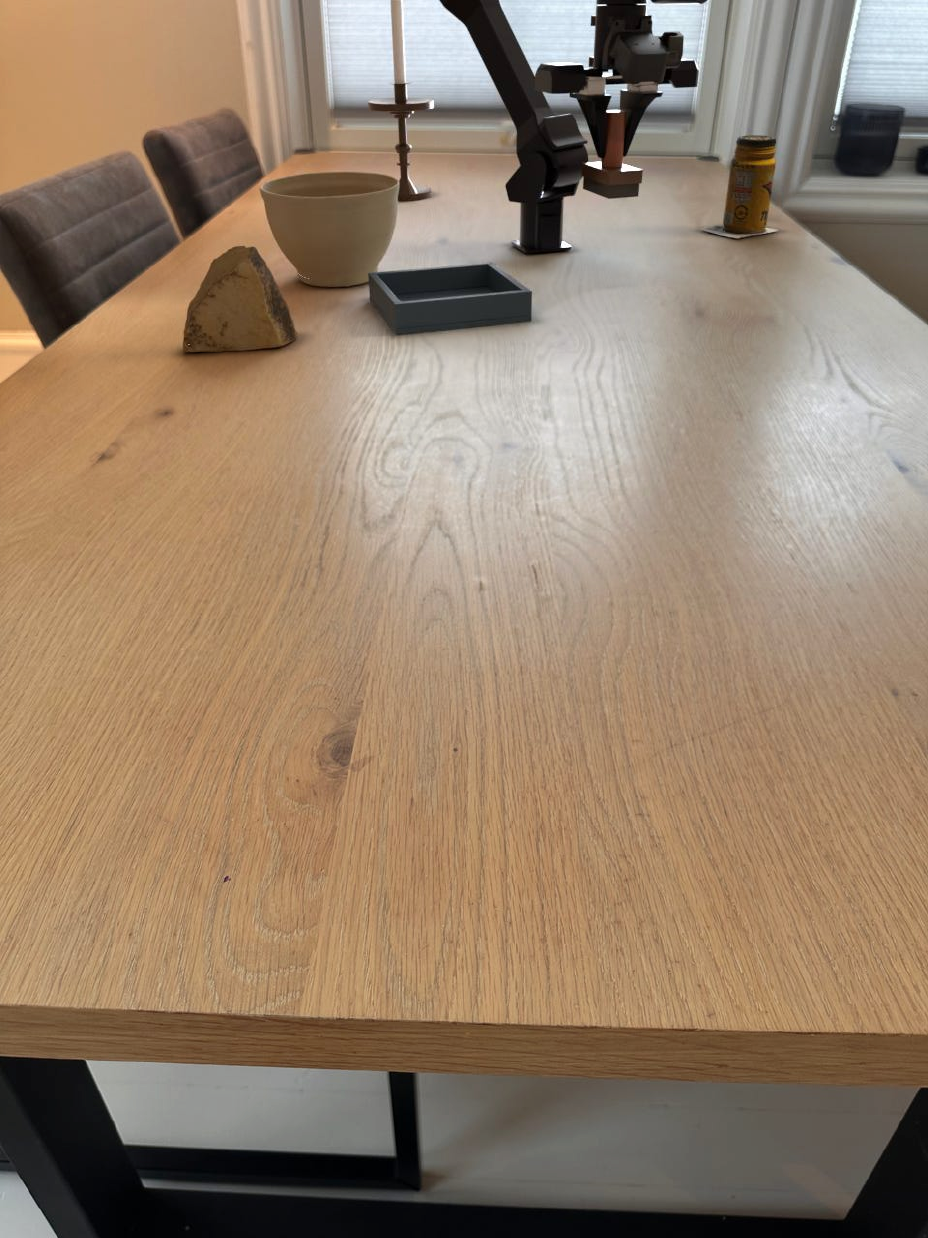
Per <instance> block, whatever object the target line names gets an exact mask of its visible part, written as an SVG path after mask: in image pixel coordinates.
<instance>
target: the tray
mask: <svg viewBox="0 0 928 1238" xmlns="http://www.w3.org/2000/svg"><path fill="white" fill-rule="evenodd" d="M368 278H369V282H368V291H369V301H370V303H371V304H372V305H373V307H374V308H375V309H376V310H377V312H378V313H379V314H380V316H381V317H382V318H383V320H384V321H385V323H387V325H388V326H389V327H390V328H391V330H392V331H393V333H395V335H396V336H399V335H400V336H401V335H410V334H420V333H430V332H440V331H450V330H458V329H468V328H469V329H470V328H478V327H487V326H488V327H489V326H498V325H499V326H500V325H508V324H517V323H528V322H532V312H533V311H532V310H533V309H532V307H533V306H532V305H533V304H532V303H533V302H532V301H533V296H532V295H533V291H532V290H530V288H528V287H527V286H525V285H524V284H522V283H521V282H520V281H518V280H517V279H516V278H515V277H513V276H512V275H510V274H509V273H508V272H506V271H505V270H503V269H502V268H501V267H499V266H498V265H496V264H495V263H494V262H493V261H490V262H489V261H488V262H477V263H468V264H466V263H465V264H455V265H443V266H434V267H421V268H420V267H419V268H409V269H398V270H385V271H377V272H374V273H368Z"/></svg>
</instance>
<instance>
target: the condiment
mask: <svg viewBox="0 0 928 1238" xmlns="http://www.w3.org/2000/svg"><path fill="white" fill-rule="evenodd" d="M735 143H736V144H735V149H734V151H733V152H734V155H733V156H732V159H731V160H730V165H729V173H728V181H727V189H726V198H725V203H724V204H725V205H724V212H723V220H722V222H723V223H722V224H723V225H721V224H720V225H716V224H715V225H713V226H708V227H706V226H705V227H704V226H703V227H701V228H700V227H699V230H703V231H704V232H708V233H712V234H715V235H719V236H720V237H721V236H724V237H728V238H734V239H740V238H747V237H752V236H759V235H766V234H771V233H776V232H779V229H777V228H776V229H775V228H771V227H769V228H768V227H766V226H767V223H768V217H769V211H770V205H771V197H772V193H773V192H772V191H773V185H774V184H773V183H774V179H775V177H774V176H775V172H776V164H777V163H776V159H775V155H776V144H777V138H775V136H771V135H758V134H757V135H756V134H755V135H753V134H752V135H750V134H749V135H741V136H738V137H737V139H736V141H735Z"/></svg>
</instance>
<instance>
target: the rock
mask: <svg viewBox="0 0 928 1238" xmlns="http://www.w3.org/2000/svg"><path fill="white" fill-rule="evenodd" d="M298 335H299V334H298V331H297V329H296V326H295V322H294V320H293V318H292V316H291V313H290V307H289V305H288V302H287V300H286V299H285V298H284V296H283V294H282V293H281V290H280V288H279V285H278V284H277V282H276V280H275V277H274V275H273V274H272V271H271V269H270V268H269V267H268V265H267V262H266V261H265V260H264V258H263V257H262V256H261V254H260V252H259V251H258V248H257V247H256V246H248V247H246V246H245V245H236V246H232V247H231V248H229V249H227V250H226V251H225V252H223V253H222V254H220V255H219V256H217V258H214V259H213V260H212V261H211V263H210V265H209V268H208V270H207V272H206V275H205V276H204V279H203V280H202V282H201V284H200V287H199V288H198V290H197V292H196V294H195V295H194V297H193V298H192V299H191V300H190V302H189V304H188V307H187V311H186V320H185V323H184V329H183V340H182V351H183V352H184V353H198V352H200V353H201V352H202V353H203V352H204V353H205V352H207V353H210V352H211V353H214V352H215V353H218V352H219V353H222V352H229V351H235V352H236V351H237V352H241V351H243V352H244V351H253V350H263V349H273V348H280V347H283V346H286V345H288V344H290V343H291V342H293V341H295V340H296V339H297V337H298ZM188 344H190V345H188Z"/></svg>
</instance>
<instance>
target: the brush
mask: <svg viewBox="0 0 928 1238" xmlns="http://www.w3.org/2000/svg"><path fill="white" fill-rule="evenodd" d="M625 122H626V111H624V110H620V109H607V123H606V149H605V156H604V158H600V159H601V161H591V162H587V163H582V173H581V176H583V177H582V179H583V181H582V189H583V190H584V191H587V192H590V193H592V194H595V195H598V196H600V197H603V198H605V199H608V200H611V199H612V200H613V199H627V198H637V197H639V193H640V192H639V191H640V184H642V183H643V174H644V173H643V172H644V169H642V168H638V167H635V166H631V165H629V164H625V163H623V162H624V157H623V150H624V136H625Z"/></svg>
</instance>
